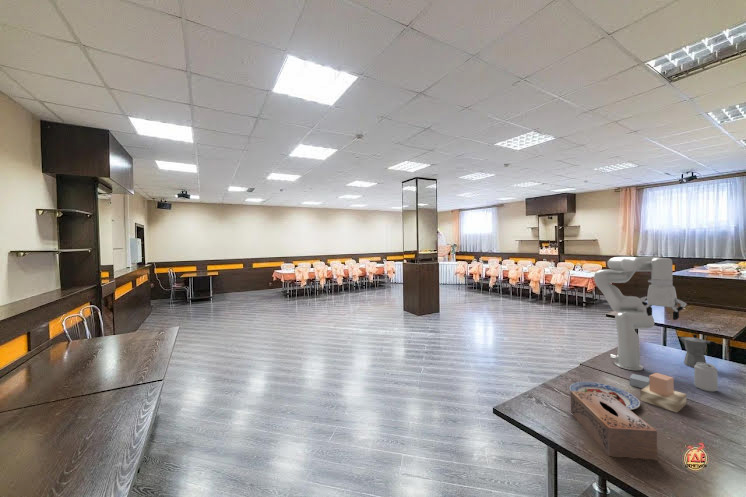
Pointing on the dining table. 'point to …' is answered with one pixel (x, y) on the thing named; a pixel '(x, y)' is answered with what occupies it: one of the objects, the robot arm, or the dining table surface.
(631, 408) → the ceramic plate
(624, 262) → the robot arm
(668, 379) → the terracotta cube
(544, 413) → the dining table surface
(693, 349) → the coffeepot
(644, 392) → the beech block
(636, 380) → the slate block
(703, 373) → the can
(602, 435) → the tissue box cover
